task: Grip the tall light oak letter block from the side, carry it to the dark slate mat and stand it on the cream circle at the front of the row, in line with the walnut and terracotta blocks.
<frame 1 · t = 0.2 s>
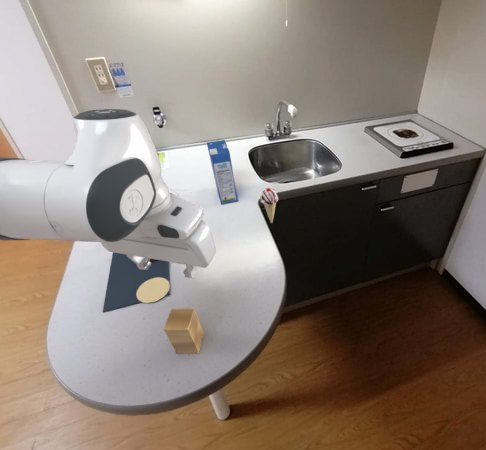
hand: (168, 271, 57), 23 cm above the worktop, tool pointing down, fingers open, 8 cm apart
pattern mat: (139, 268, 88), on the worktop
ice cream cone: (271, 226, 103), on the worktop
oak letter block: (190, 343, 71), on the worktop
milk carton: (227, 196, 116), on the worktop
garnished food dish: (130, 191, 119), on the worktop
walnut block: (154, 256, 91), resting on pattern mat
terracotta block: (154, 239, 97), resting on pattern mat
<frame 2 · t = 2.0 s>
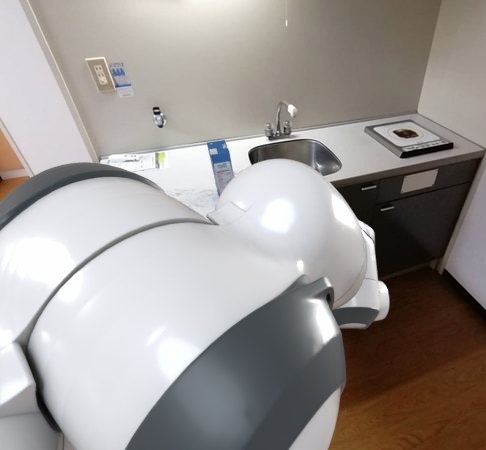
hand: (232, 301, 60), 16 cm above the worktop, tool horizontal, fingers open, 8 cm apart
nothing on the worktop moved.
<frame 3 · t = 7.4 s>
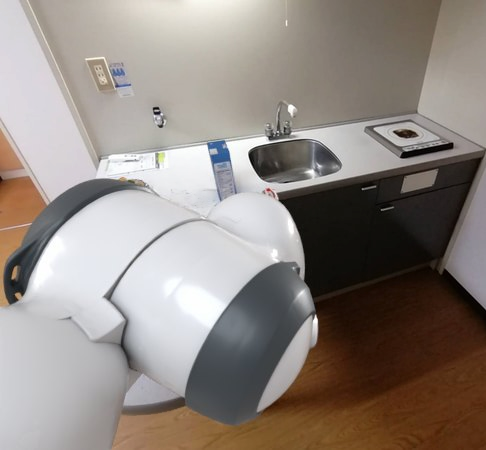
hand: (180, 330, 67), 6 cm above the worktop, tool horizontal, fingers closed on oak letter block, 5 cm apart
oak letter block: (190, 343, 71), on the worktop, touching gripper
everything else where it was.
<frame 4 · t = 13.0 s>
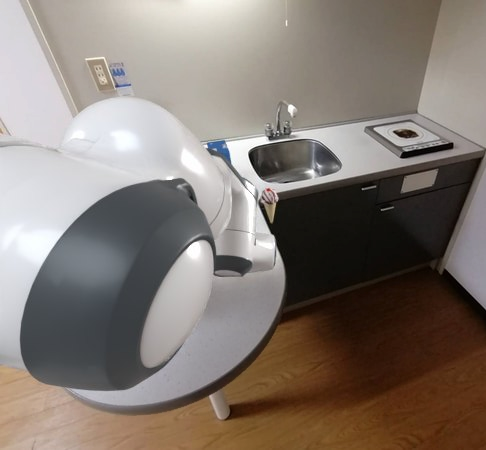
hand: (135, 253, 65), 20 cm above the worktop, tool horizontal, fingers closed on oak letter block, 5 cm apart
oak letter block: (148, 270, 68), point 15 cm above the worktop, touching gripper
everything else where it was.
when the fingers open (6 cm above the worktop, at t = 18.8 s): oak letter block stays where it is, resting on pattern mat.
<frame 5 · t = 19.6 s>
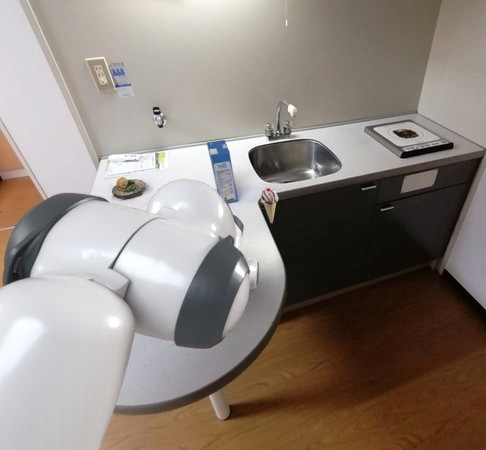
hand: (141, 274, 78), 7 cm above the worktop, tool horizontal, fingers open, 8 cm apart
oak letter block: (153, 289, 82), point 1 cm above the worktop, touching pattern mat
everything else where it was.
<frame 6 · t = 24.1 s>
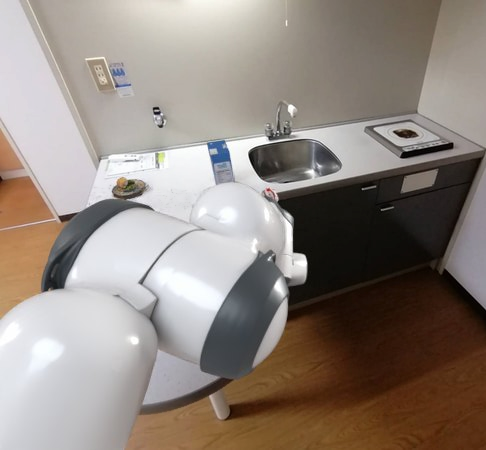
hand: (186, 269, 76), 9 cm above the worktop, tool horizontal, fingers open, 8 cm apart
nothing on the worktop moved.
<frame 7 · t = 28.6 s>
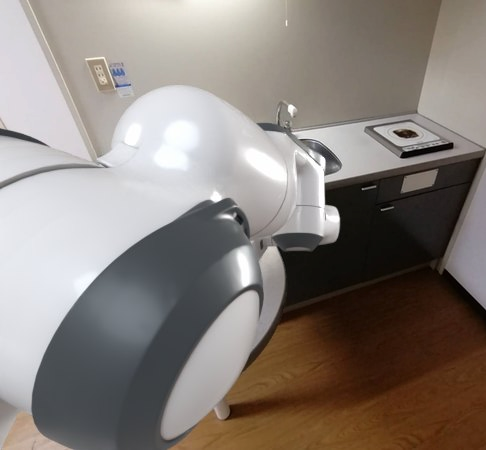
hand: (191, 225, 63), 26 cm above the worktop, tool horizontal, fingers open, 8 cm apart
nothing on the worktop moved.
at the end: oak letter block 0.1 cm from the target spot on the pattern mat, point 0.5 cm above the pattern mat's base; oak letter block tilted 0°; the gripper is holding nothing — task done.
